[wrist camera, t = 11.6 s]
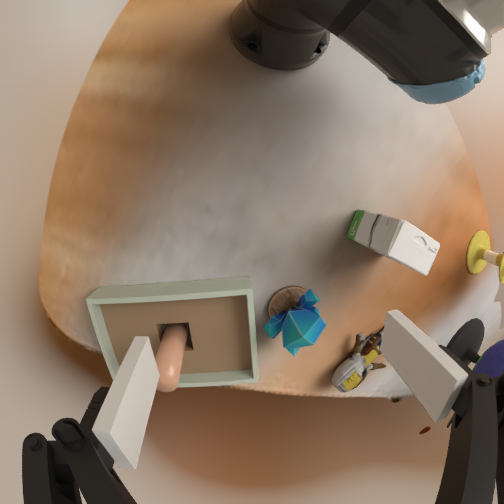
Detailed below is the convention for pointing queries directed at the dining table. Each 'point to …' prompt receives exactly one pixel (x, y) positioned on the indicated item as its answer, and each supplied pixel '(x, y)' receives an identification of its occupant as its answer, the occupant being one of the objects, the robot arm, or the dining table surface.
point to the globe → (477, 349)
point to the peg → (171, 356)
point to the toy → (358, 362)
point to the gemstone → (294, 318)
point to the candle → (483, 255)
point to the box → (181, 311)
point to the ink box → (394, 240)
